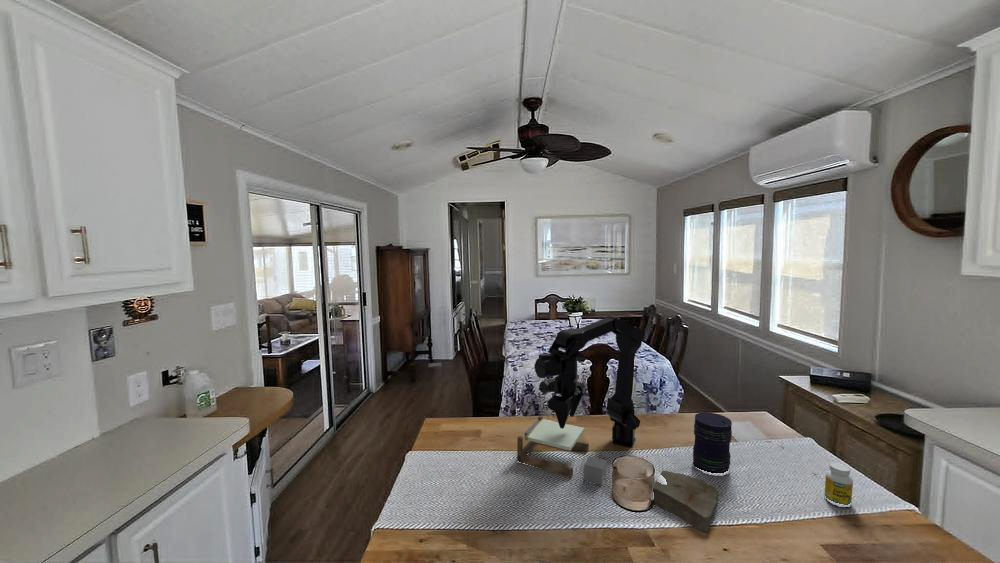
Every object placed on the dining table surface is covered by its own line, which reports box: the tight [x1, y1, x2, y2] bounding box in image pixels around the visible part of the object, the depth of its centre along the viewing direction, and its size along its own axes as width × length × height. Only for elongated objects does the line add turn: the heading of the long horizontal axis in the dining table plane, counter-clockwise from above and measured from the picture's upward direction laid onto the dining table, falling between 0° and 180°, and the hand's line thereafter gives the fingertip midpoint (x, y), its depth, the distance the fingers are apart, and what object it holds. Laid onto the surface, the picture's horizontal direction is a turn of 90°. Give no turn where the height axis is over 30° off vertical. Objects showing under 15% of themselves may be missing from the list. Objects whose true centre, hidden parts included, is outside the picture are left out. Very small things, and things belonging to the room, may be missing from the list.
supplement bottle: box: [824, 462, 854, 505], centre depth 103 cm, size 5×5×10 cm
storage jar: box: [692, 411, 733, 473], centre depth 119 cm, size 10×10×15 cm
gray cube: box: [583, 455, 607, 486], centre depth 114 cm, size 5×5×5 cm
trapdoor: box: [524, 418, 585, 451], centre depth 125 cm, size 16×14×1 cm
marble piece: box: [652, 470, 720, 533], centre depth 103 cm, size 17×15×4 cm
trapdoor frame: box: [516, 415, 590, 478], centre depth 126 cm, size 17×17×8 cm
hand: (566, 422), depth 123 cm, fingers open, 9 cm apart
